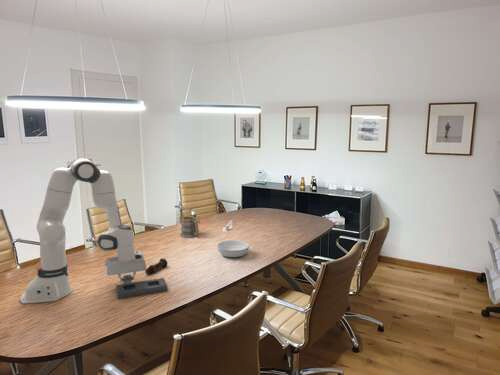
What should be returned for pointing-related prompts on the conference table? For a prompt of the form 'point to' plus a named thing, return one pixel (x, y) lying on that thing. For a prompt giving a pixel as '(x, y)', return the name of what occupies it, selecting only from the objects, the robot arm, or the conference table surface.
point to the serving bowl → (233, 248)
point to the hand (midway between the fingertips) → (127, 280)
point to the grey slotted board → (141, 288)
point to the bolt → (156, 266)
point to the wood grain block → (127, 278)
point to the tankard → (189, 227)
